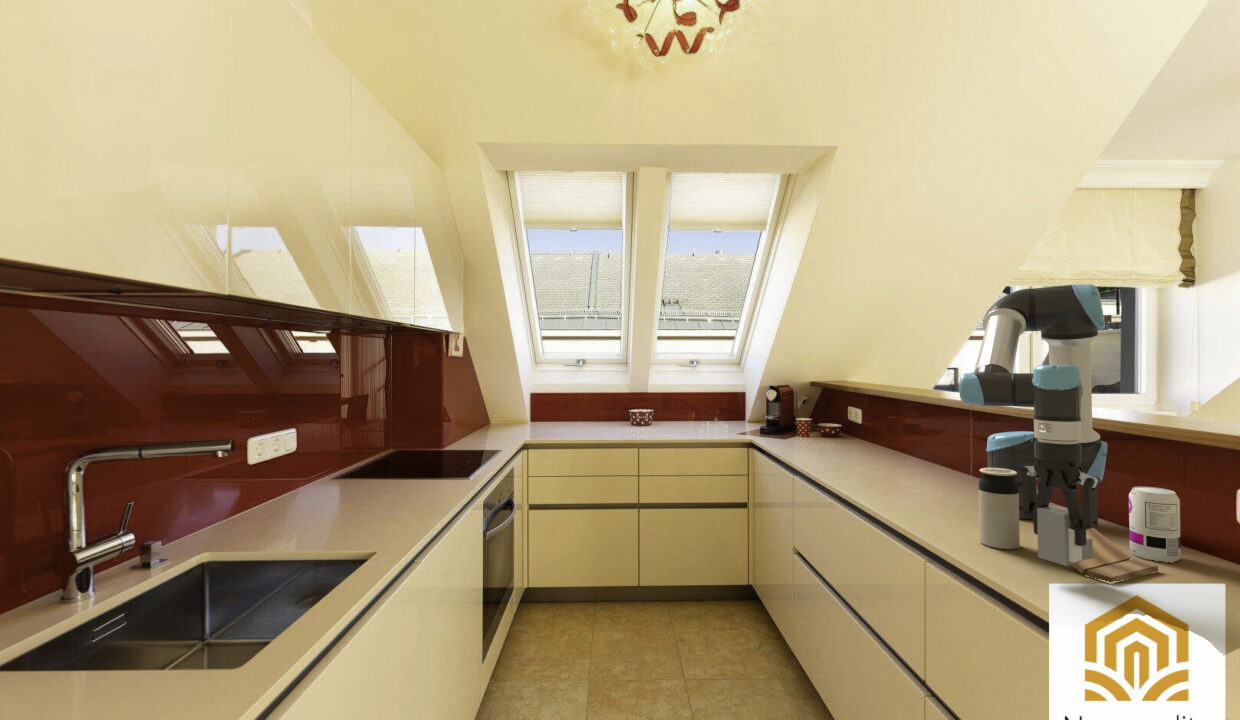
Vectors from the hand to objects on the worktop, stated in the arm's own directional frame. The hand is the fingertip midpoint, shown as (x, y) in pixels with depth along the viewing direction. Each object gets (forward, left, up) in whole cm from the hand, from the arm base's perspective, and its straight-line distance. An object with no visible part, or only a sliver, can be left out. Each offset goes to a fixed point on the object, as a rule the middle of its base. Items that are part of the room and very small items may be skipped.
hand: (1059, 555), depth 110 cm
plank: (-16, -4, -3) cm, 16 cm away
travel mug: (-11, -20, -6) cm, 23 cm away
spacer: (-2, 0, -1) cm, 2 cm away
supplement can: (-34, -1, -6) cm, 34 cm away
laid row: (-16, +3, -5) cm, 17 cm away
